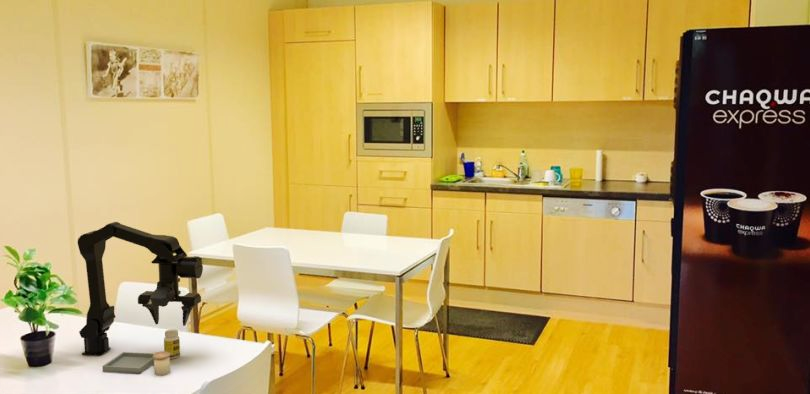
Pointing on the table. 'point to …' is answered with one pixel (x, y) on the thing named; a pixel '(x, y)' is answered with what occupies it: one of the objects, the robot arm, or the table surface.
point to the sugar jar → (161, 363)
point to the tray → (129, 363)
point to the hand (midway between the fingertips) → (170, 324)
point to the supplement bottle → (172, 343)
